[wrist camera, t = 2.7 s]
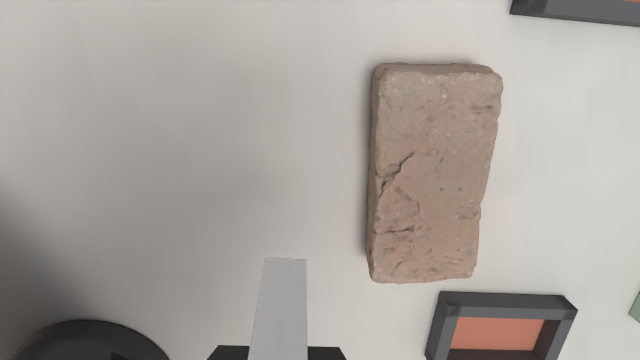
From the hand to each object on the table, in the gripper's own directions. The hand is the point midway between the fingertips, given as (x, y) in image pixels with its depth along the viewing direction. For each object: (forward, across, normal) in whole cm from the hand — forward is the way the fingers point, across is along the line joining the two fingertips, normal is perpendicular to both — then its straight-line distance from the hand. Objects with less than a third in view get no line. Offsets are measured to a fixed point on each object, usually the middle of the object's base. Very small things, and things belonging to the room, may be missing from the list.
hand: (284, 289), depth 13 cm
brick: (+16, +10, 0) cm, 19 cm away
